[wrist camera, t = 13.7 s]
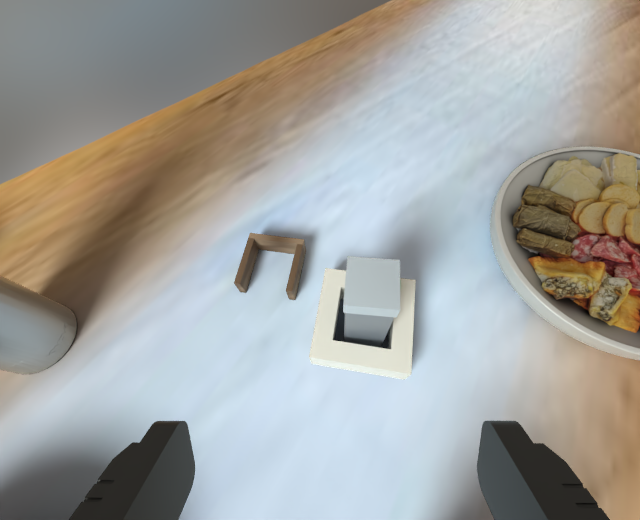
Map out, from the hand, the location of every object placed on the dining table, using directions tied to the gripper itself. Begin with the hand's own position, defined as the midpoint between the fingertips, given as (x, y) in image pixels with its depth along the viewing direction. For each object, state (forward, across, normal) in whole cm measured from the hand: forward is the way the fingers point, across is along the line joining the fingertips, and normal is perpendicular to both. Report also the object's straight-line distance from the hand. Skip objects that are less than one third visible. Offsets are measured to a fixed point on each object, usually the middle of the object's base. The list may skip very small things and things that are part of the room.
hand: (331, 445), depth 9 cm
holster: (+36, +8, +7) cm, 38 cm away
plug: (+30, -4, +13) cm, 33 cm away
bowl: (+38, -36, +7) cm, 52 cm away
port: (+30, -3, +13) cm, 33 cm away
